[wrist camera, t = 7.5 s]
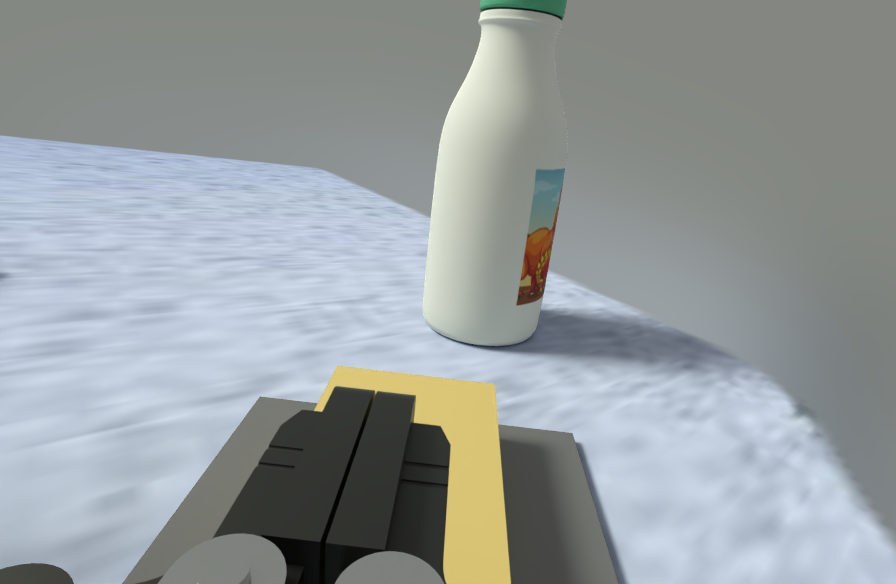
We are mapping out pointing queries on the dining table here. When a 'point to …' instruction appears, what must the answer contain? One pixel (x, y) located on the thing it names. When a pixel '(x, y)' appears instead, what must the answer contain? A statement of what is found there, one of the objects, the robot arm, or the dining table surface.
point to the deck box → (456, 466)
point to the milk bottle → (499, 181)
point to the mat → (524, 485)
